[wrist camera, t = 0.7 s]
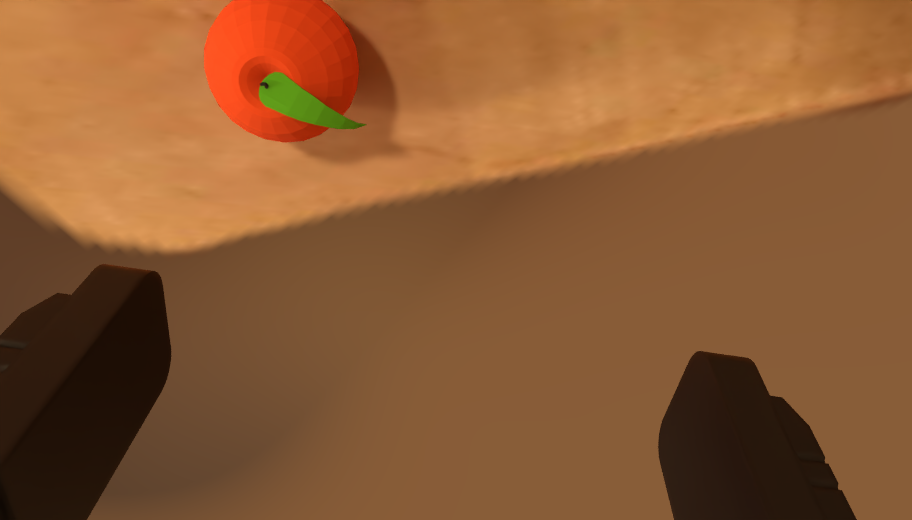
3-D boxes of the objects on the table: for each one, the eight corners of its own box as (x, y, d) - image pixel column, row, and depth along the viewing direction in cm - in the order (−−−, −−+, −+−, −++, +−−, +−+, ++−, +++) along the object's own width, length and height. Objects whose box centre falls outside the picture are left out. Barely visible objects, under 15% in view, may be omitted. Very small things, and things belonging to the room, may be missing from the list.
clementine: (410, 40, 34) (400, 74, 28) (345, 151, 37) (323, 204, 30) (264, -53, 32) (219, -40, 26) (207, 71, 35) (154, 112, 28)
